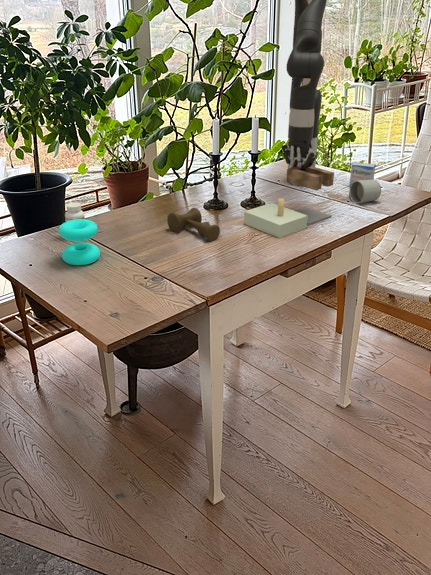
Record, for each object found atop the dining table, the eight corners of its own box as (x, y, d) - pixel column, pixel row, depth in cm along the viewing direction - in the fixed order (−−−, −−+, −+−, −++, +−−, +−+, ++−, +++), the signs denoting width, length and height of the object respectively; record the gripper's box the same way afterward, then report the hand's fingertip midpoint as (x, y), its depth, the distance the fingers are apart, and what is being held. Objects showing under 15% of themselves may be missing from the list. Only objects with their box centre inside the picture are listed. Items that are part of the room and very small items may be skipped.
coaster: (282, 215, 187) (282, 214, 186) (305, 208, 193) (305, 206, 193) (308, 225, 179) (308, 223, 179) (331, 217, 186) (331, 215, 186)
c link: (286, 181, 183) (287, 168, 181) (303, 176, 188) (304, 164, 186) (315, 190, 175) (316, 177, 173) (332, 185, 179) (334, 172, 178)
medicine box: (348, 188, 212) (351, 164, 208) (351, 184, 216) (353, 161, 212) (370, 190, 210) (374, 166, 206) (372, 187, 213) (375, 163, 209)
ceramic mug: (381, 202, 198) (384, 180, 195) (362, 206, 195) (364, 184, 191) (361, 194, 206) (363, 173, 203) (342, 197, 203) (344, 176, 200)
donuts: (92, 215, 159) (101, 228, 151) (95, 249, 163) (104, 263, 155) (54, 220, 155) (61, 234, 147) (59, 255, 160) (66, 269, 152)
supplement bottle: (86, 232, 174) (83, 201, 170) (86, 239, 170) (83, 207, 165) (68, 233, 173) (64, 202, 169) (67, 240, 169) (63, 208, 164)
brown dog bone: (201, 247, 166) (159, 226, 179) (226, 239, 172) (184, 219, 185) (201, 227, 163) (159, 207, 176) (227, 220, 169) (184, 201, 182)
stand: (243, 223, 181) (244, 195, 176) (271, 214, 188) (272, 187, 183) (279, 237, 171) (280, 208, 166) (306, 227, 178) (308, 199, 173)
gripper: (276, 121, 179) (273, 176, 187) (310, 128, 170) (306, 186, 178) (292, 118, 183) (289, 172, 191) (327, 125, 174) (322, 182, 182)
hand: (297, 179), depth 184 cm, fingers closed on c link, 2 cm apart
